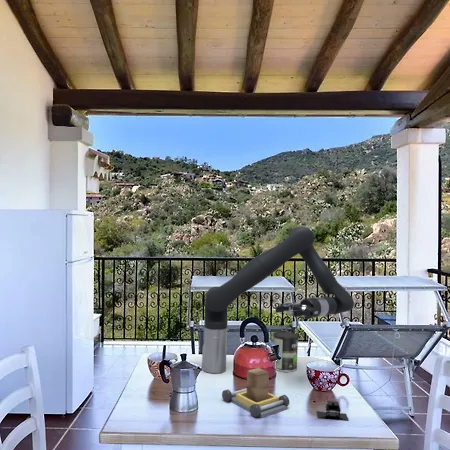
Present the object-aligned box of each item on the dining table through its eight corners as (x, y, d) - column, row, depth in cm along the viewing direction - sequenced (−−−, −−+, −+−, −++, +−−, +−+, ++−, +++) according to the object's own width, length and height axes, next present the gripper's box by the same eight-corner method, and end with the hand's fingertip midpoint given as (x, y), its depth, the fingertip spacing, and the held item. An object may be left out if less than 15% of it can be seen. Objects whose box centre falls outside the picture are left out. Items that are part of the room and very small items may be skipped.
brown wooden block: (246, 401, 143) (247, 370, 143) (257, 397, 147) (258, 367, 147) (256, 406, 140) (257, 375, 140) (267, 402, 143) (268, 372, 143)
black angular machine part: (313, 420, 134) (313, 405, 134) (311, 410, 141) (311, 396, 141) (354, 424, 132) (355, 409, 132) (350, 414, 140) (351, 400, 140)
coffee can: (300, 366, 184) (301, 333, 184) (293, 373, 174) (294, 338, 174) (276, 362, 188) (277, 329, 188) (268, 369, 179) (269, 335, 179)
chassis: (221, 399, 147) (221, 388, 147) (252, 390, 155) (252, 380, 155) (257, 419, 132) (258, 407, 132) (289, 408, 141) (290, 397, 141)
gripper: (300, 295, 173) (271, 298, 163) (329, 300, 162) (300, 304, 152) (299, 313, 173) (270, 318, 163) (328, 320, 162) (299, 326, 152)
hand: (284, 311), depth 158 cm, fingers open, 8 cm apart
